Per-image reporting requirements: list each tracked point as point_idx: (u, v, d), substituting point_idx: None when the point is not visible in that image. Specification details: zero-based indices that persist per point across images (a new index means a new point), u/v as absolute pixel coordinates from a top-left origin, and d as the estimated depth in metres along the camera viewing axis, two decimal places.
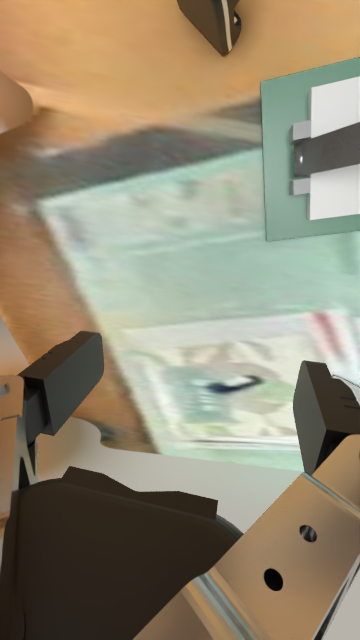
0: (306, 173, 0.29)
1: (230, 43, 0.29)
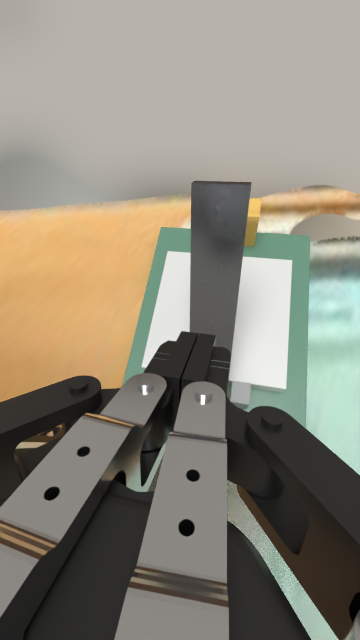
0: None
1: None
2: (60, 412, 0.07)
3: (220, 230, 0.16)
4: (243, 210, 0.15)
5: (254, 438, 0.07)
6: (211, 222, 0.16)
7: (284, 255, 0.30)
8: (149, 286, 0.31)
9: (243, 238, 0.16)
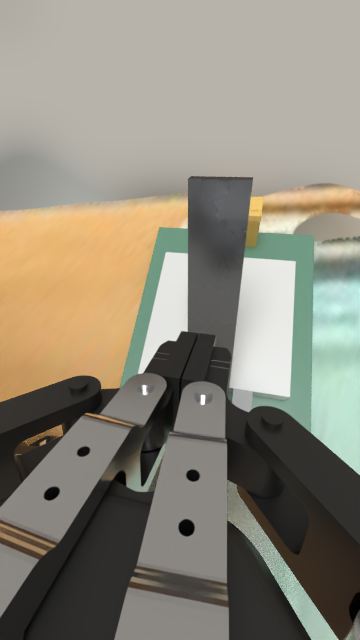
0: (227, 392, 0.21)
1: None
2: (60, 412, 0.07)
3: (219, 229, 0.15)
4: (244, 207, 0.14)
5: (254, 438, 0.07)
6: (210, 221, 0.15)
7: (287, 255, 0.29)
8: (147, 288, 0.30)
9: (244, 238, 0.15)
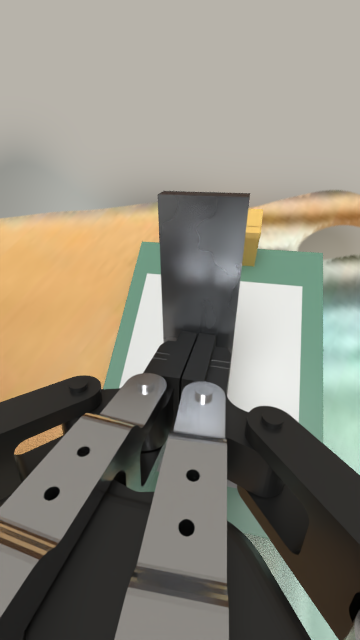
0: None
1: None
2: (60, 412, 0.07)
3: (203, 264, 0.11)
4: (238, 236, 0.10)
5: (254, 438, 0.07)
6: (190, 252, 0.11)
7: (291, 277, 0.24)
8: (125, 316, 0.25)
9: (238, 276, 0.11)
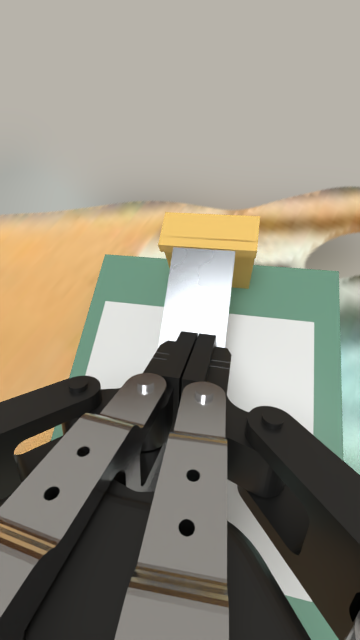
0: None
1: None
2: (60, 412, 0.07)
3: (200, 295, 0.14)
4: (227, 275, 0.14)
5: (254, 438, 0.07)
6: (190, 286, 0.14)
7: (297, 304, 0.18)
8: (80, 355, 0.19)
9: (227, 306, 0.13)
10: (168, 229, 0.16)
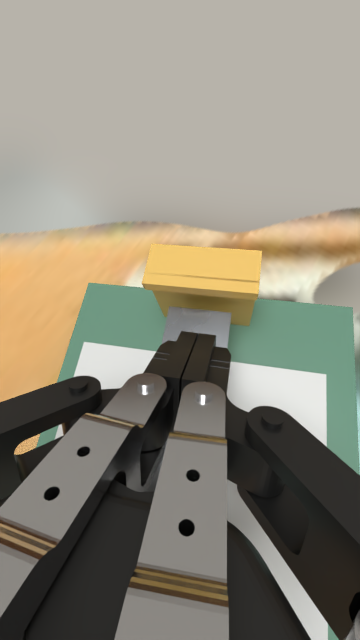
0: None
1: None
2: (60, 412, 0.07)
3: None
4: (223, 337, 0.13)
5: (254, 438, 0.07)
6: None
7: (305, 346, 0.16)
8: None
9: None
10: (154, 264, 0.13)
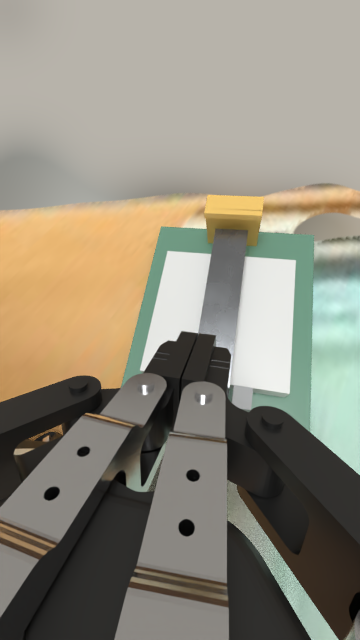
0: (228, 380, 0.22)
1: None
2: (60, 412, 0.07)
3: (230, 250, 0.26)
4: (244, 241, 0.27)
5: (254, 438, 0.07)
6: (225, 246, 0.27)
7: (287, 254, 0.29)
8: (148, 287, 0.30)
9: (244, 255, 0.26)
10: (210, 204, 0.27)
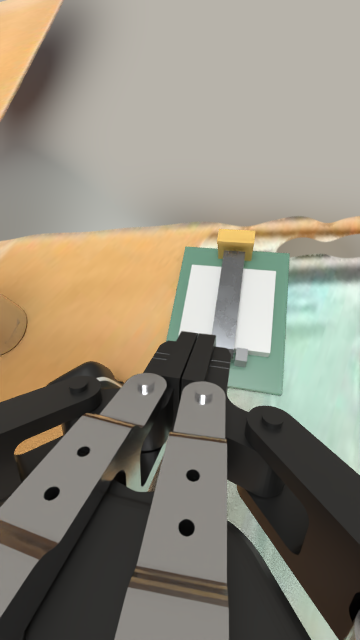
0: (233, 344, 0.37)
1: None
2: (60, 413, 0.07)
3: (233, 265, 0.41)
4: (242, 259, 0.41)
5: (254, 438, 0.07)
6: (230, 262, 0.41)
7: (271, 267, 0.44)
8: (178, 288, 0.45)
9: (242, 268, 0.41)
10: (220, 235, 0.41)
